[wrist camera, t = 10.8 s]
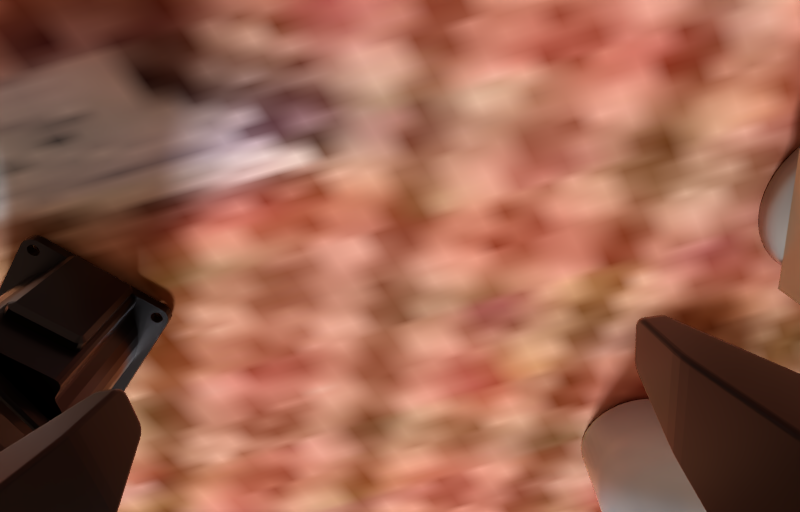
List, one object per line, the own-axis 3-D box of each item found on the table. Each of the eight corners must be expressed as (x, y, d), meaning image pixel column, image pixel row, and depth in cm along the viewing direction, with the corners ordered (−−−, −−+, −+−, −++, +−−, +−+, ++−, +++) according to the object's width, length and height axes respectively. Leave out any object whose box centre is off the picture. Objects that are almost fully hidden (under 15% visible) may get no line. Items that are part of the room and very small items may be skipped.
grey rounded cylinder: (661, 494, 29) (716, 610, 23) (561, 467, 28) (594, 581, 23) (726, 416, 26) (805, 528, 21) (617, 385, 25) (670, 492, 20)
